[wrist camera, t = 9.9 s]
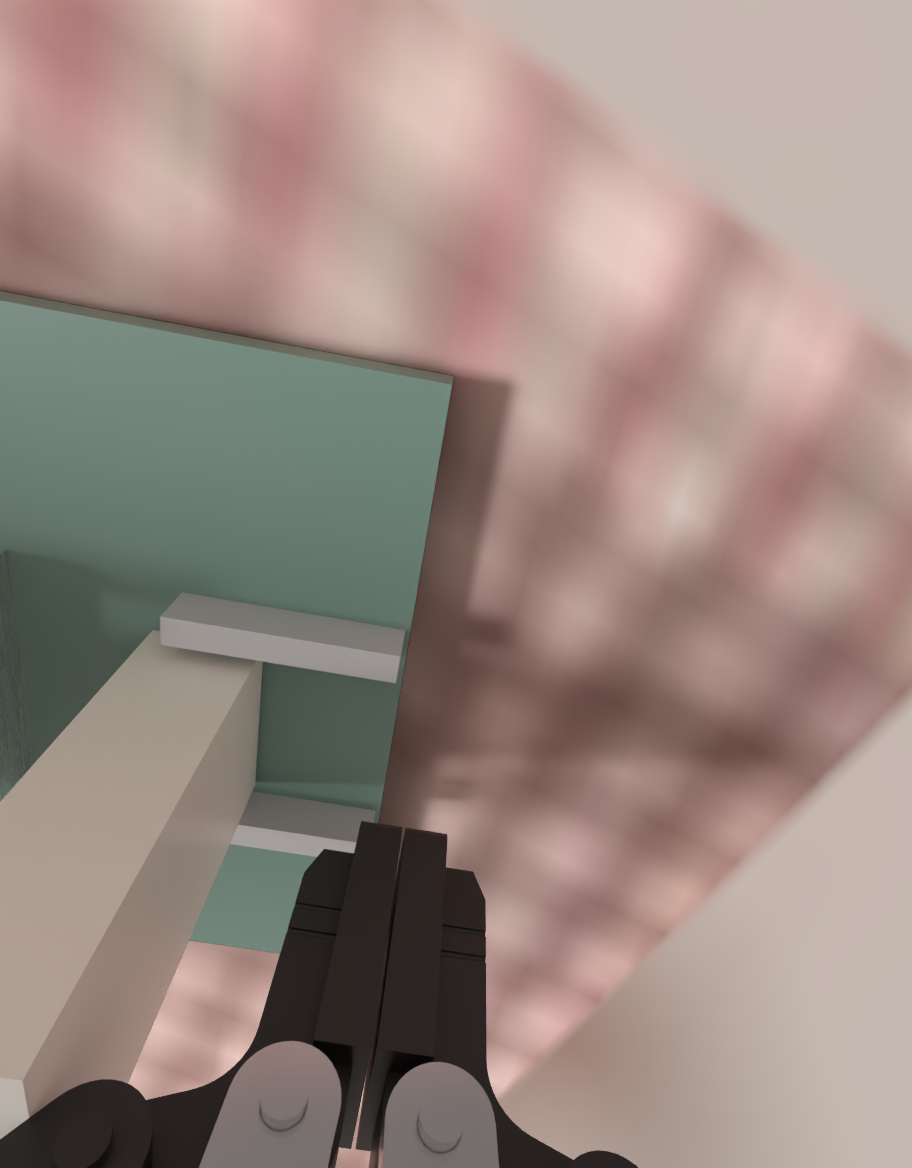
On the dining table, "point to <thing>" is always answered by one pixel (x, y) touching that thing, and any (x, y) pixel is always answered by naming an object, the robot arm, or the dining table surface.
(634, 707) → the dining table surface
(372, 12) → the dining table surface
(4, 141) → the dining table surface
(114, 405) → the board
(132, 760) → the block
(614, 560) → the dining table surface
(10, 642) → the heatsink
